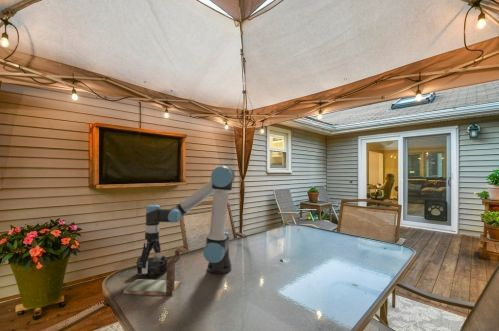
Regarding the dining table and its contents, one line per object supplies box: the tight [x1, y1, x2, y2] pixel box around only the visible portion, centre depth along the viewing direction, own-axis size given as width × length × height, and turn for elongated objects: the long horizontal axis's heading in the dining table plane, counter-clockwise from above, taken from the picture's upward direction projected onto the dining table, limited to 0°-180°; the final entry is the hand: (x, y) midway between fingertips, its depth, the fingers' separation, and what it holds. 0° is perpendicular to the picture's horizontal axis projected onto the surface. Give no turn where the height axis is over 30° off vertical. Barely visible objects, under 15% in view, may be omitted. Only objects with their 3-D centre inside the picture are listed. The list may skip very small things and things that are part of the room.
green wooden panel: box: [123, 249, 182, 297], centre depth 118 cm, size 25×12×18 cm, turn 87°
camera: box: [135, 255, 169, 279], centre depth 134 cm, size 18×9×10 cm, turn 104°
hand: (150, 268), depth 133 cm, fingers open, 13 cm apart
